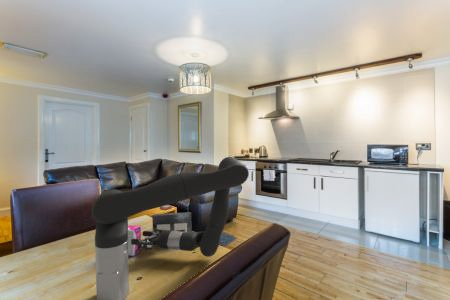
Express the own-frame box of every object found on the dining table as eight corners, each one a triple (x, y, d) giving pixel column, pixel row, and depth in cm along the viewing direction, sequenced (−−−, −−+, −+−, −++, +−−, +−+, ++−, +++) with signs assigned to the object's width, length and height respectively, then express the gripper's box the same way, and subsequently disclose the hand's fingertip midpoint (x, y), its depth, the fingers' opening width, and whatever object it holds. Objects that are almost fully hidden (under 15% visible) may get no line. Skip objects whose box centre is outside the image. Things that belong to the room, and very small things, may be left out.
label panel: (191, 242, 109) (191, 213, 108) (152, 245, 106) (152, 215, 106) (191, 240, 111) (191, 212, 111) (153, 243, 109) (153, 214, 108)
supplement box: (133, 257, 95) (133, 230, 95) (121, 256, 97) (120, 229, 96) (141, 250, 101) (141, 225, 101) (129, 249, 102) (129, 224, 102)
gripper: (179, 225, 101) (146, 223, 105) (164, 238, 87) (126, 235, 91) (179, 241, 101) (146, 239, 105) (164, 257, 88) (127, 253, 91)
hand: (137, 237), depth 98 cm, fingers open, 8 cm apart
